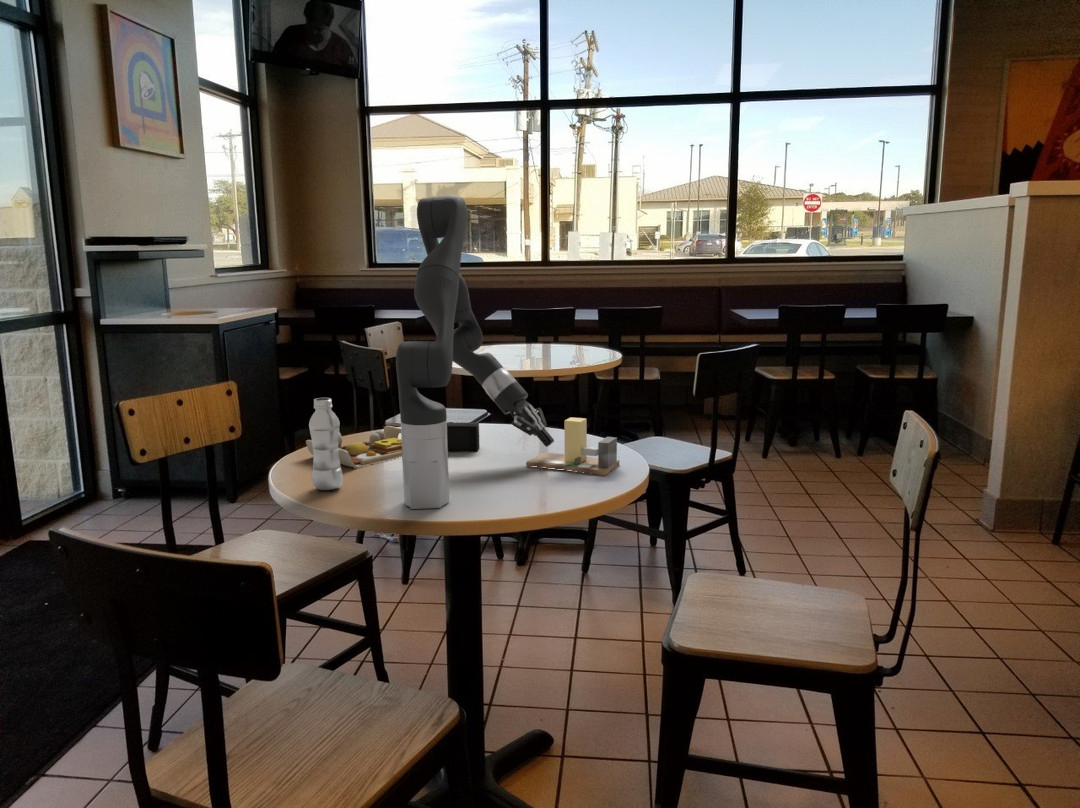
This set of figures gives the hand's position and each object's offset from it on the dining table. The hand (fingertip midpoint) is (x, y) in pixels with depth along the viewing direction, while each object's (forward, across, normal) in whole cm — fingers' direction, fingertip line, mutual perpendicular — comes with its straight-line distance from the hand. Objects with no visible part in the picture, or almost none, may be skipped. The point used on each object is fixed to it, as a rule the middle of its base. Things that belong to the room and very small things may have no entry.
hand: (550, 443), depth 190 cm
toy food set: (-29, -10, +37) cm, 48 cm away
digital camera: (-16, +4, +23) cm, 29 cm away
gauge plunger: (+8, -1, -3) cm, 9 cm away
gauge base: (+8, 0, -1) cm, 8 cm away
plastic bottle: (-22, -38, +29) cm, 53 cm away
